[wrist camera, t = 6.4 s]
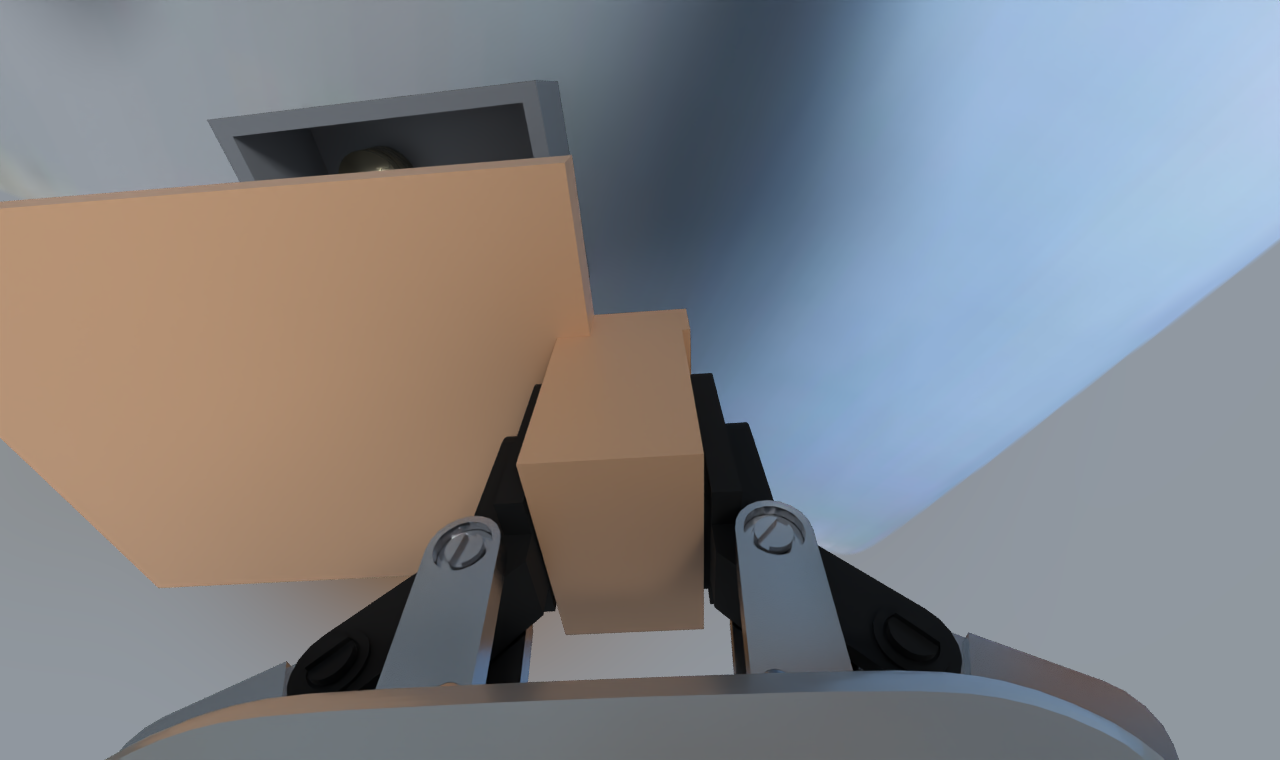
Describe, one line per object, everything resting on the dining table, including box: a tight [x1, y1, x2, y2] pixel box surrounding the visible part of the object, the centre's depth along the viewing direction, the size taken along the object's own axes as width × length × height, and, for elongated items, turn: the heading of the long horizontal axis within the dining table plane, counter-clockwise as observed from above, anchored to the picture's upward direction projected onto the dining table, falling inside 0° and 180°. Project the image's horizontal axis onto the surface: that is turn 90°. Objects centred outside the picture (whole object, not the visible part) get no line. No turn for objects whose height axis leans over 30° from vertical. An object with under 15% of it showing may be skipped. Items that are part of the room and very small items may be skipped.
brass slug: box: [339, 146, 414, 174], centre depth 28 cm, size 4×4×2 cm
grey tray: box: [207, 80, 590, 278], centre depth 28 cm, size 16×12×7 cm
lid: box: [0, 155, 704, 635], centre depth 12 cm, size 19×13×7 cm, turn 94°
